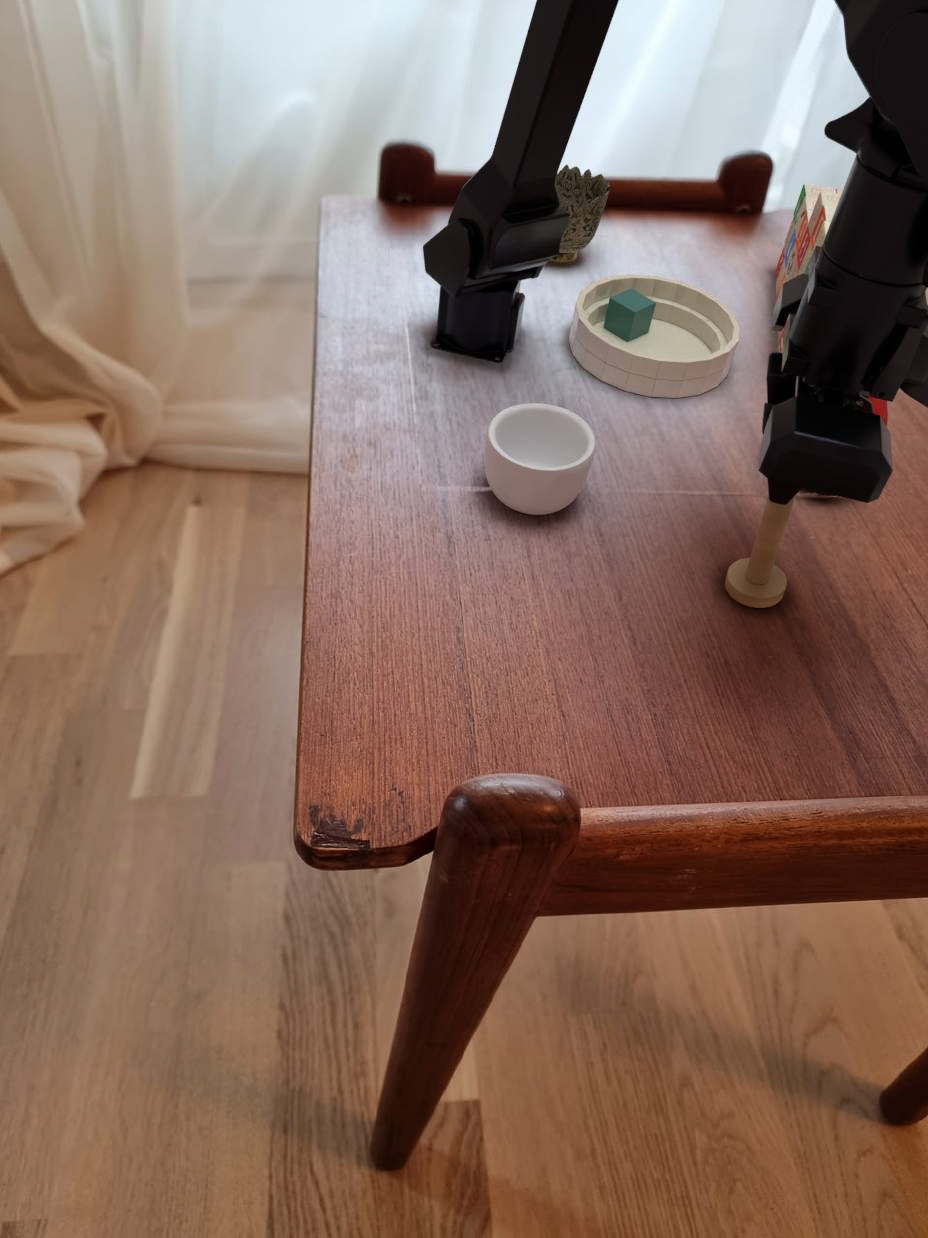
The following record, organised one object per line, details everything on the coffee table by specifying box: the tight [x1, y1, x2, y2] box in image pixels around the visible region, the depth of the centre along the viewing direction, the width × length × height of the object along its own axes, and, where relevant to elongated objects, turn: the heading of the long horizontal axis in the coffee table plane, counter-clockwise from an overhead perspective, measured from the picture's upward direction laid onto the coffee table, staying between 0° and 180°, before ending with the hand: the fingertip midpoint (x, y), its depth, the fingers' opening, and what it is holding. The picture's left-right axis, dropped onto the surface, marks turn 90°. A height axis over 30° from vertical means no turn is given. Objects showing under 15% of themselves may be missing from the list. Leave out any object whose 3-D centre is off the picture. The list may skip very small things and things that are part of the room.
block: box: [603, 289, 656, 342], centre depth 88 cm, size 3×3×3 cm
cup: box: [547, 164, 611, 266], centre depth 95 cm, size 8×7×8 cm
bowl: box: [568, 273, 741, 399], centre depth 86 cm, size 14×14×4 cm
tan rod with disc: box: [724, 493, 796, 609], centre depth 64 cm, size 4×4×12 cm
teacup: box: [484, 402, 596, 516], centre depth 71 cm, size 10×8×5 cm
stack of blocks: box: [775, 182, 844, 353], centre depth 89 cm, size 21×6×12 cm, turn 168°
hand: (778, 492), depth 62 cm, fingers closed on tan rod with disc, 2 cm apart
